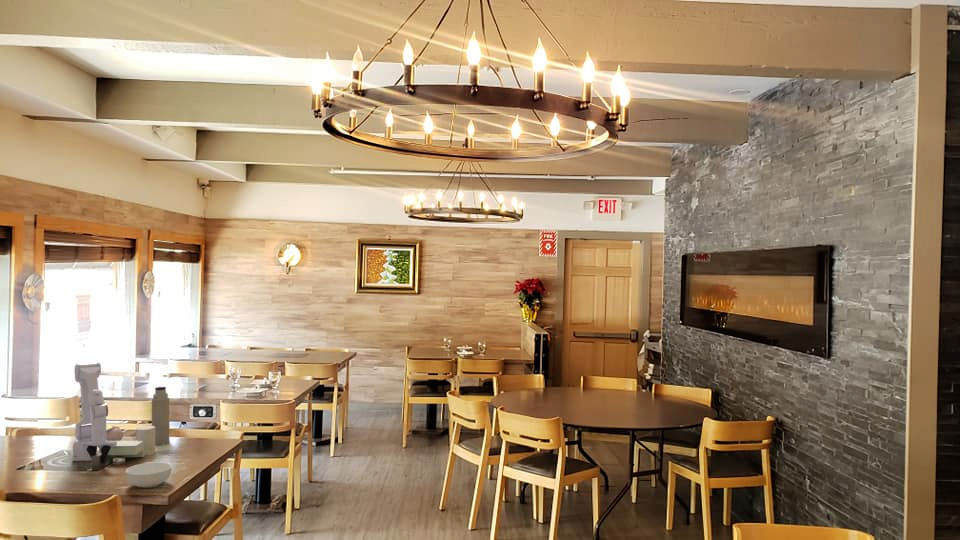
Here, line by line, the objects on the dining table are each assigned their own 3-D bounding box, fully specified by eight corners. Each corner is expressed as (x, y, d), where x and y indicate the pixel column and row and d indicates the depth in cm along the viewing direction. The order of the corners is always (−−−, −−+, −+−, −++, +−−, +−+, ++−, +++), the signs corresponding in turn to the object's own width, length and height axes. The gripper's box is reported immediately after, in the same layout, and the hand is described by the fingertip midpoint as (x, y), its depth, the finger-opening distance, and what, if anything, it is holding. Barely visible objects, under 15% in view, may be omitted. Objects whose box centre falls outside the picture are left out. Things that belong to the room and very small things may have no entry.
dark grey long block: (91, 469, 307) (91, 456, 306) (108, 459, 322) (108, 446, 322) (99, 469, 307) (99, 455, 307) (115, 459, 322) (115, 446, 322)
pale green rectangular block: (98, 463, 317) (97, 446, 317) (107, 457, 326) (107, 440, 326) (135, 462, 318) (135, 445, 318) (144, 456, 327) (144, 440, 327)
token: (110, 464, 315) (110, 459, 315) (115, 461, 320) (115, 456, 320) (122, 464, 316) (122, 459, 316) (127, 461, 321) (127, 455, 321)
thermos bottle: (163, 440, 357) (163, 385, 357) (172, 442, 353) (172, 386, 353) (148, 443, 351) (148, 387, 350) (158, 446, 346) (158, 389, 346)
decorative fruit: (116, 448, 342) (116, 427, 342) (100, 448, 342) (100, 427, 342) (126, 443, 351) (126, 423, 351) (110, 443, 351) (110, 423, 351)
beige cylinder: (147, 455, 329) (147, 430, 329) (132, 454, 331) (132, 429, 331) (158, 451, 337) (158, 426, 337) (143, 450, 339) (143, 425, 338)
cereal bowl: (124, 494, 275) (124, 476, 275) (126, 481, 290) (126, 464, 290) (171, 488, 282) (171, 471, 282) (171, 476, 297) (171, 460, 297)
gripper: (77, 434, 305) (77, 465, 305) (111, 433, 306) (111, 465, 306) (85, 430, 312) (85, 460, 312) (119, 430, 313) (119, 460, 313)
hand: (98, 462), depth 310 cm, fingers closed on dark grey long block, 3 cm apart
